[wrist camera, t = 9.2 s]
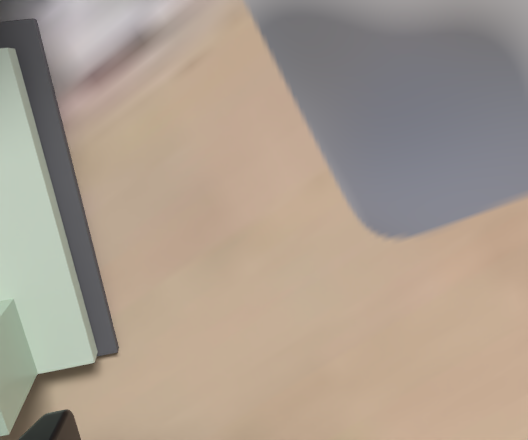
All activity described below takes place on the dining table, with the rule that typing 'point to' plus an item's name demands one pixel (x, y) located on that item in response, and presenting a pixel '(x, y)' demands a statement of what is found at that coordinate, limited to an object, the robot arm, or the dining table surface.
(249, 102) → the dining table surface
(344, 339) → the dining table surface
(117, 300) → the dining table surface
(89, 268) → the mat
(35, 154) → the lid
